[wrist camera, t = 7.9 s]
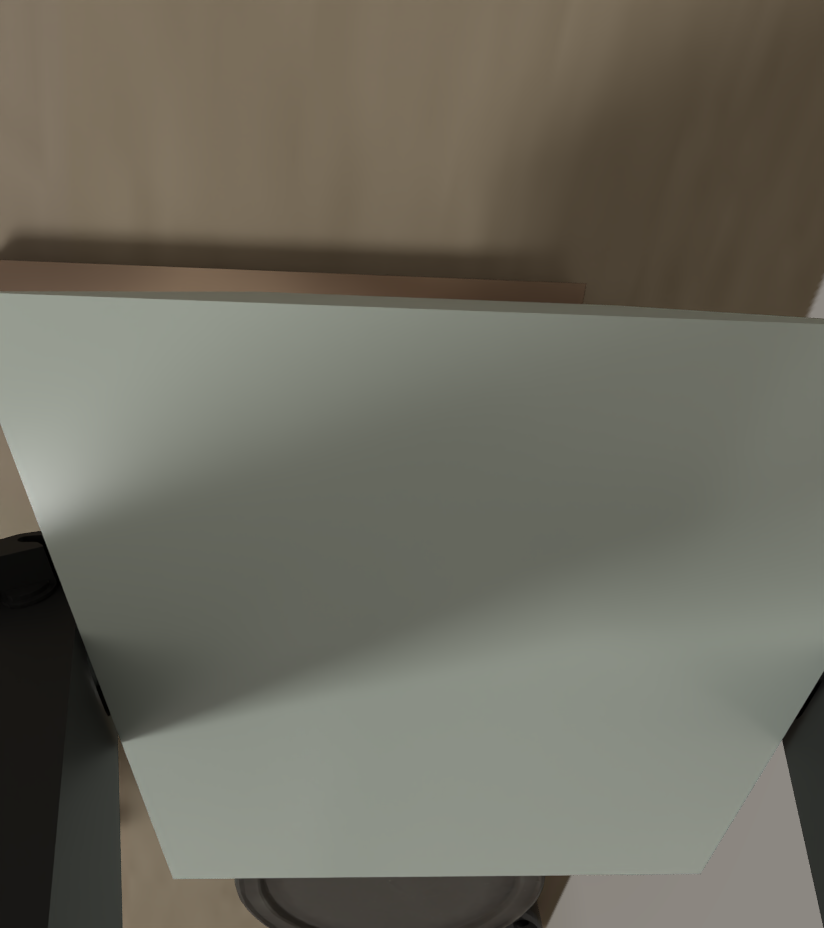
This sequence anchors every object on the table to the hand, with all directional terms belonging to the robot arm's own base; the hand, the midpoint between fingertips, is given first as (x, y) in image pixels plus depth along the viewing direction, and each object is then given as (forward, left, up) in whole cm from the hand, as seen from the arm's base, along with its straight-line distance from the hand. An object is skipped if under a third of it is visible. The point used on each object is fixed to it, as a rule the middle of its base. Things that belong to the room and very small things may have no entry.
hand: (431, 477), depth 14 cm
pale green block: (0, 0, -1) cm, 1 cm away
